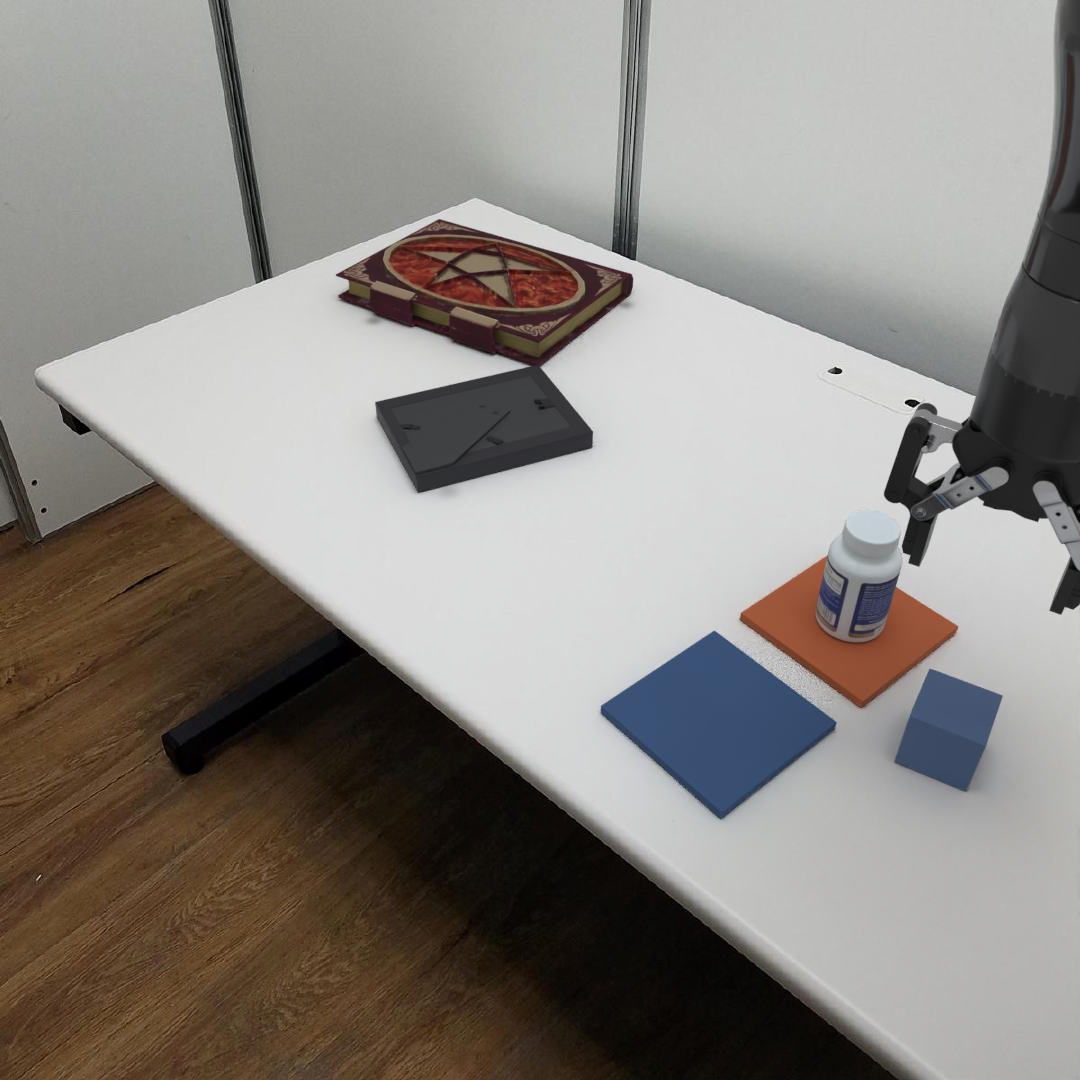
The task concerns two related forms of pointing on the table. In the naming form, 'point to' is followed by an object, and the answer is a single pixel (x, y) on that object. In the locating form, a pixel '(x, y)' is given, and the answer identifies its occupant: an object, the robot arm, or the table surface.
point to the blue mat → (718, 722)
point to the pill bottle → (860, 577)
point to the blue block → (948, 729)
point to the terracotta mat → (840, 662)
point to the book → (486, 290)
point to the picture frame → (481, 427)
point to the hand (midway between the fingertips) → (986, 581)
